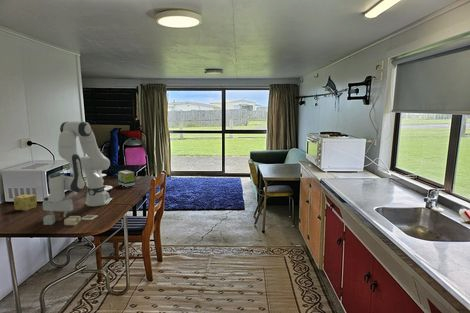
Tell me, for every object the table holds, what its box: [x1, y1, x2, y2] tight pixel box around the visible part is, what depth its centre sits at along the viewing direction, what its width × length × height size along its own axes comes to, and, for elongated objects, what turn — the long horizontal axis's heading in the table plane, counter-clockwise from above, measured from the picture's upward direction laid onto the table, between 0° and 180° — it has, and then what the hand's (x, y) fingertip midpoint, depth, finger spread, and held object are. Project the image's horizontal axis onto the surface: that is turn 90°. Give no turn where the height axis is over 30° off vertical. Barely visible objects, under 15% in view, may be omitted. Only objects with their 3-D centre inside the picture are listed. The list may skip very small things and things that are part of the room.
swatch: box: [81, 214, 99, 221], centre depth 206 cm, size 8×8×1 cm
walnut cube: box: [53, 211, 66, 221], centre depth 202 cm, size 5×5×5 cm
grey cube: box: [42, 214, 56, 226], centre depth 194 cm, size 5×5×5 cm
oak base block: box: [63, 215, 82, 226], centre depth 195 cm, size 7×7×4 cm
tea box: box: [117, 169, 136, 188], centre depth 298 cm, size 15×10×15 cm, turn 49°
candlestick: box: [85, 170, 113, 192], centre depth 275 cm, size 21×25×28 cm
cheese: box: [13, 194, 38, 212], centre depth 224 cm, size 10×11×10 cm
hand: (59, 216), depth 202 cm, fingers open, 6 cm apart
